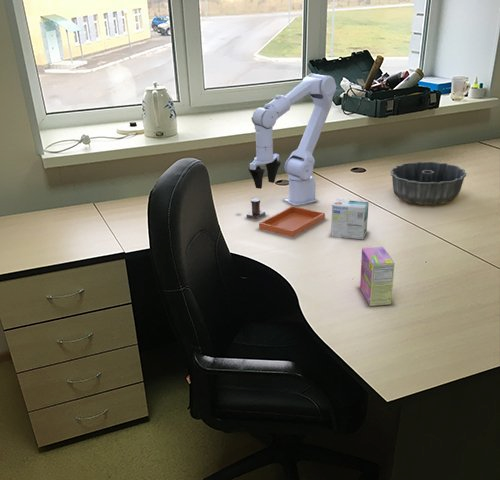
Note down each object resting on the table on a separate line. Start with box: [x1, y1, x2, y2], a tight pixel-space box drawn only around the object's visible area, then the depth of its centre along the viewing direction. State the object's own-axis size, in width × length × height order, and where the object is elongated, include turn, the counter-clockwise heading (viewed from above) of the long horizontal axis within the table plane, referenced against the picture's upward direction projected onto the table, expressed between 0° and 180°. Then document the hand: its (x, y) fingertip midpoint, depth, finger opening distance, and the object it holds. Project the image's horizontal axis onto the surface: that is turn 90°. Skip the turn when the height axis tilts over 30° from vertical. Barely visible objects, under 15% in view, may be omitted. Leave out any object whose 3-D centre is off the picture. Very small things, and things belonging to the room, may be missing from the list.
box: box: [359, 246, 396, 307], centre depth 150 cm, size 10×6×12 cm, turn 5°
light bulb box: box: [330, 198, 370, 240], centre depth 187 cm, size 11×7×11 cm, turn 71°
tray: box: [258, 205, 326, 238], centre depth 198 cm, size 20×14×2 cm
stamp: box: [246, 198, 266, 220], centre depth 204 cm, size 6×4×6 cm
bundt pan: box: [390, 161, 467, 206], centre depth 214 cm, size 26×26×10 cm
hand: (265, 185), depth 206 cm, fingers open, 7 cm apart
